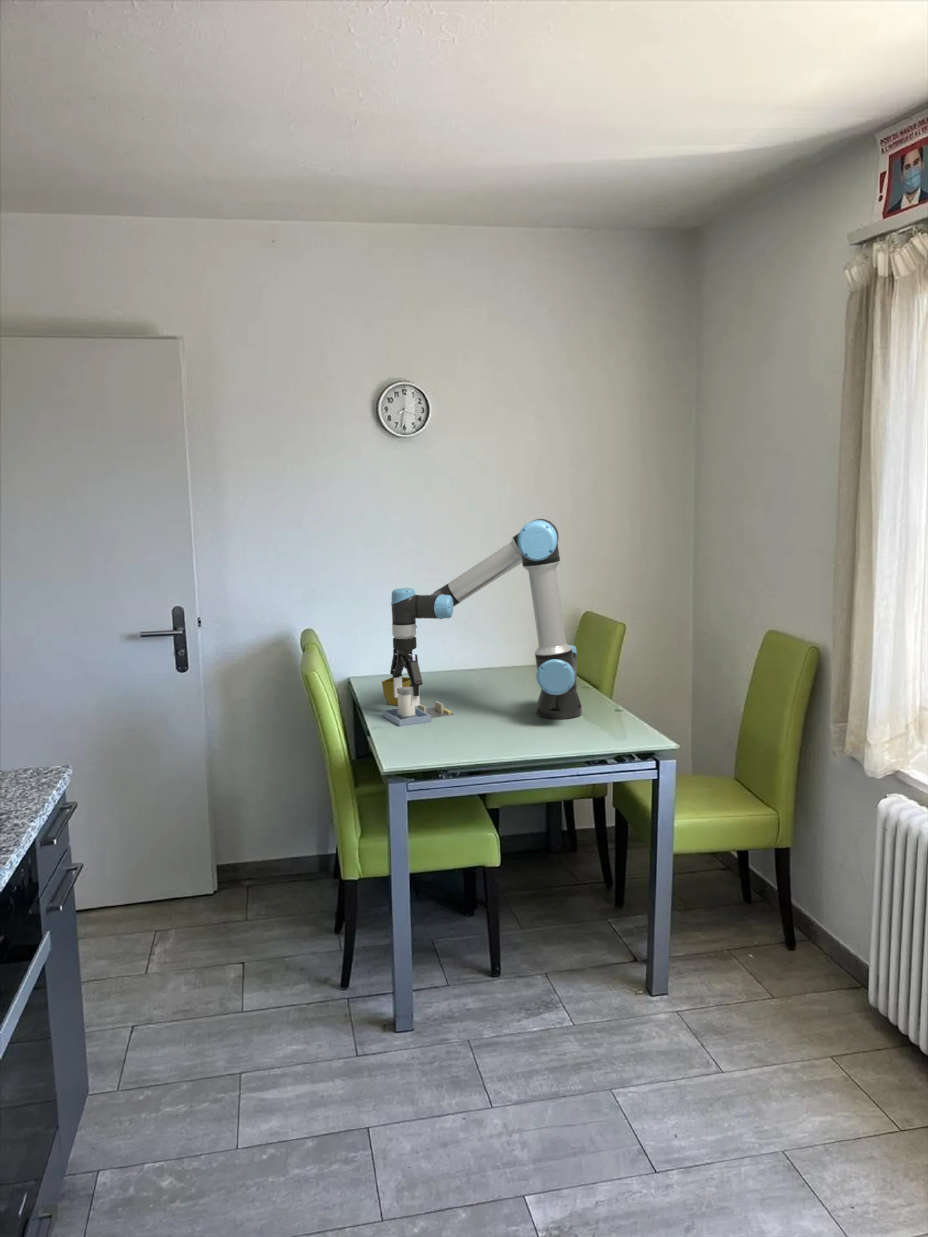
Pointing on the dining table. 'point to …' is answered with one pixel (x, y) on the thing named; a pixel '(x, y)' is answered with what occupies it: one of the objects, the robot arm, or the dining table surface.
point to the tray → (420, 718)
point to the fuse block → (436, 710)
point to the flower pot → (389, 689)
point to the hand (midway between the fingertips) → (406, 701)
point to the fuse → (405, 703)
